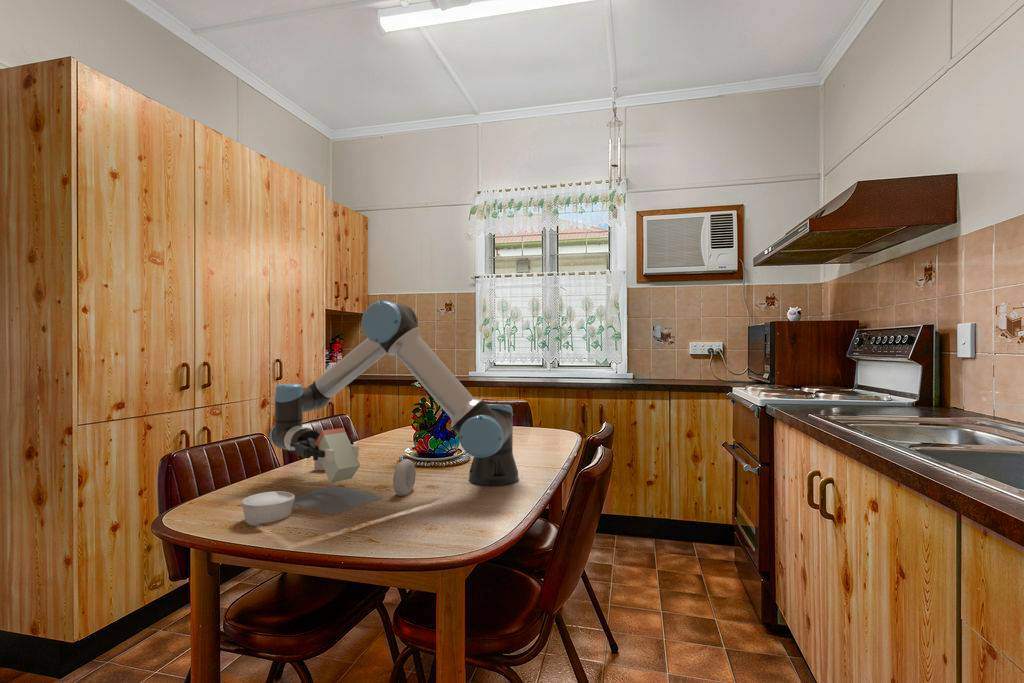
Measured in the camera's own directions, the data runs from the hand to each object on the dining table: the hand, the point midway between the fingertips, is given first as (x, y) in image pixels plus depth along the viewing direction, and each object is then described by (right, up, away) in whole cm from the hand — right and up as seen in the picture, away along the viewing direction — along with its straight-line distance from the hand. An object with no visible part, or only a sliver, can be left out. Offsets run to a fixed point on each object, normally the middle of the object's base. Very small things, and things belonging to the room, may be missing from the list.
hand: (345, 453), depth 126 cm
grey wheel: (+13, -14, +9) cm, 21 cm away
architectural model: (-20, -14, +37) cm, 45 cm away
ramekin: (-15, -14, -9) cm, 22 cm away
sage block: (0, -5, 0) cm, 5 cm away
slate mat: (-5, -14, +4) cm, 15 cm away
